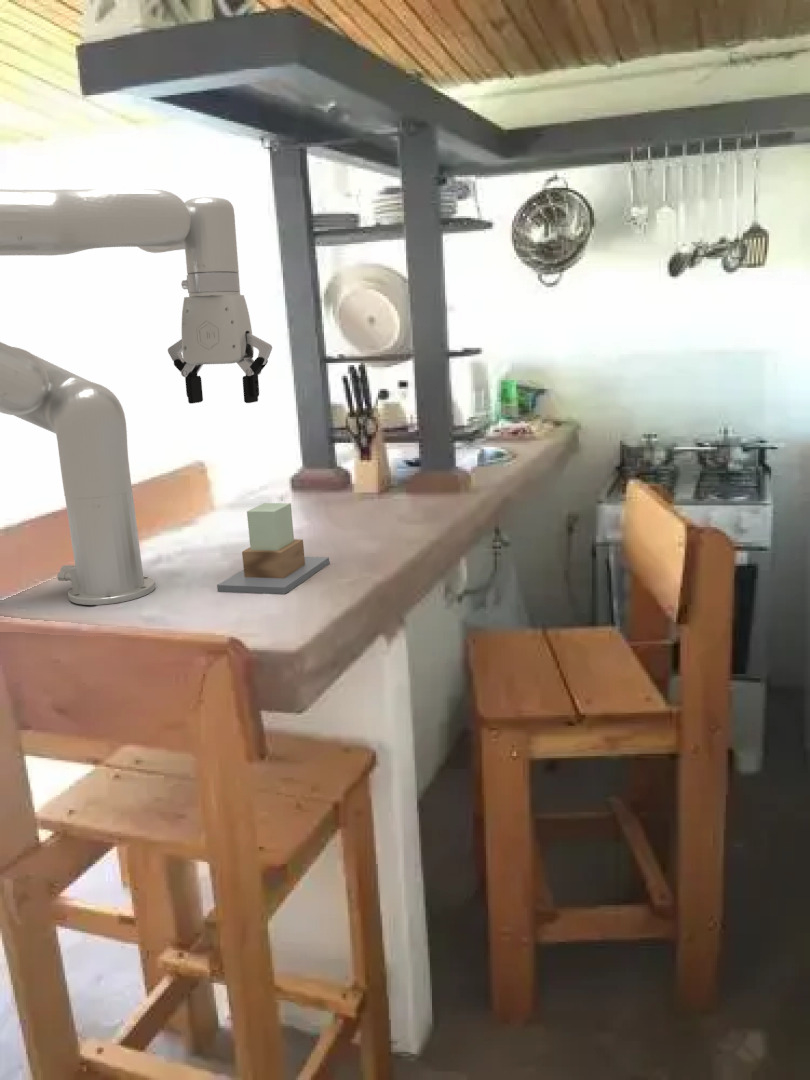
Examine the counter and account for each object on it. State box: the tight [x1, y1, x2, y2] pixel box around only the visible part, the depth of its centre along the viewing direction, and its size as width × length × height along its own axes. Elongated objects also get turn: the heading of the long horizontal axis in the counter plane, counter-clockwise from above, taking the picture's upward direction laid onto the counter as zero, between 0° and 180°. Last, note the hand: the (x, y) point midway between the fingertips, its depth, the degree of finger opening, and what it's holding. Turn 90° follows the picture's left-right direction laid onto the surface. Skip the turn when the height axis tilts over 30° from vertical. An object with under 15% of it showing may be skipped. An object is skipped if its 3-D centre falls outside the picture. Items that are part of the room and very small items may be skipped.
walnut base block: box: [241, 538, 306, 578], centre depth 144 cm, size 6×8×4 cm
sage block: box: [246, 502, 295, 551], centre depth 143 cm, size 4×6×6 cm
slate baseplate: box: [216, 556, 330, 595], centre depth 145 cm, size 11×17×1 cm, turn 162°
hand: (223, 402), depth 143 cm, fingers open, 9 cm apart
